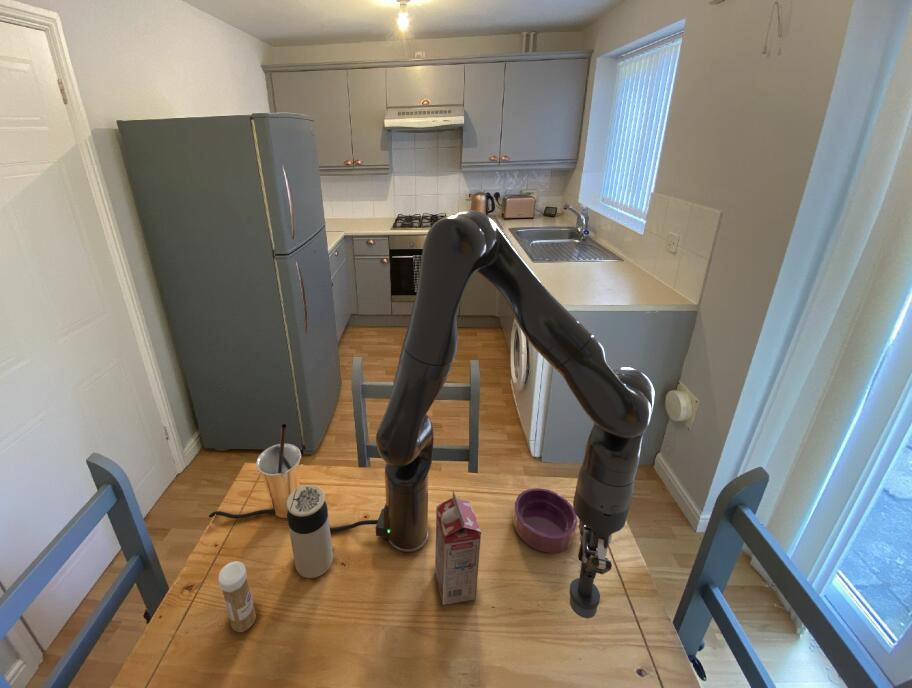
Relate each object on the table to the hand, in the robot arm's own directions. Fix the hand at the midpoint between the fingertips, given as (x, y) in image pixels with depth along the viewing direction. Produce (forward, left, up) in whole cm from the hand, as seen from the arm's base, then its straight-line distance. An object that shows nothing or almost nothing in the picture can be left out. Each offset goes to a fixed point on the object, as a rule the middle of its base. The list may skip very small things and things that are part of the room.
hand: (586, 567), depth 70 cm
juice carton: (-22, +3, -17) cm, 28 cm away
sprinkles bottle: (-60, -13, -17) cm, 64 cm away
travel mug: (-52, +1, -17) cm, 55 cm away
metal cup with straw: (-64, +12, -17) cm, 67 cm away
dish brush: (+1, 0, -10) cm, 10 cm away
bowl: (-4, +21, -17) cm, 27 cm away
